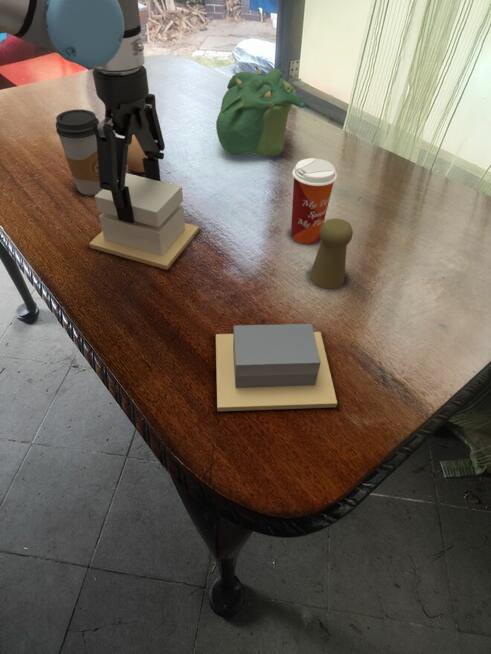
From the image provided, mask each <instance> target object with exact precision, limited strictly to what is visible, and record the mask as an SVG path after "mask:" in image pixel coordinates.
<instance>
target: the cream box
mask: <svg viewBox="0 0 491 654" xmlns="http://www.w3.org/2000/svg"><path fill="white" fill-rule="evenodd" d="M184 212H185V211H184V206H183V205H179V206H178V207H177V208H176V209H175V210H174V211H173V213H172V214H171V215H170V216H169V217H168V218H167V219H166V220H165V221H164V222H163V223H162V224H161V226H160V227H155V226H151V225H147V224H144V223H140V222H136V221H134V222H133V223H132V224H131V223H128V222H124V221H120V220H118V217H117V216H114V215H110V214H106V213H101V214H100V215H99V216H98V218H99V219H98V220H99V223H100V228H101V232H100V233H98V234H97V235H96V236H95V237H94V238H93V239H92V240H91V241H90V242H89V243H88V246H89V248H90V249H93V250H97V251H100V252H103V253H107V254H111V255H114V256H117V257H121V258H125V259H128V260H131V261H133V262H134V261H135V262H138V263H142V264H145V265H148V266H152V267H155V268H159V269H162V270H166V271H168V270H169V269H170V268H171V266H172V265H173V264H174V263H175V262H176V261H177V259H178V258H179V256H180V255H181V254H182V253H183V251H185V249H186V248H187V247H188V245H189V244H190V243H191V241H192V240H193V239H194V238H195V237H196V236H197V234H198V233H199V231H200V226H199V225H195V224H190V223H187V222H185V213H184Z"/></svg>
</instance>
